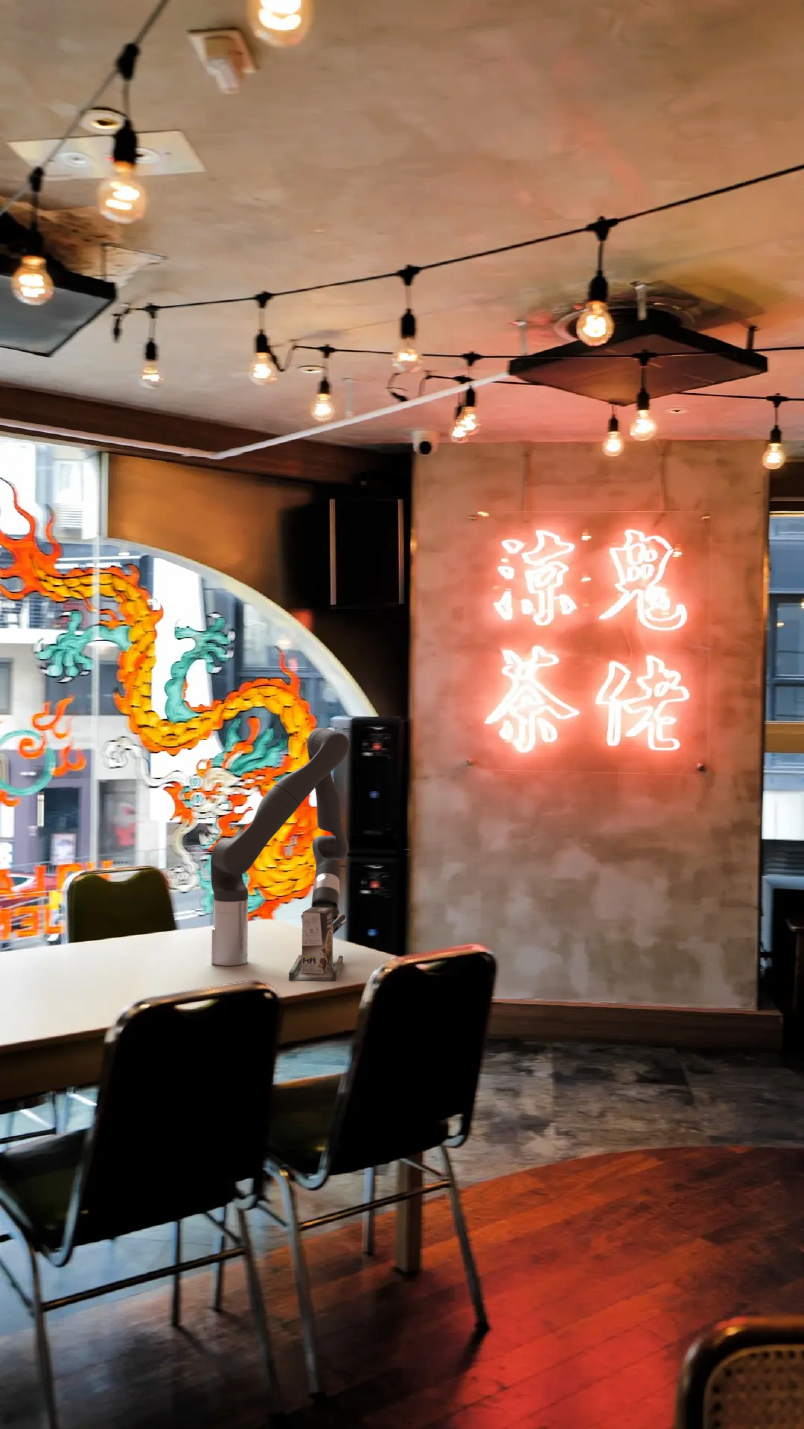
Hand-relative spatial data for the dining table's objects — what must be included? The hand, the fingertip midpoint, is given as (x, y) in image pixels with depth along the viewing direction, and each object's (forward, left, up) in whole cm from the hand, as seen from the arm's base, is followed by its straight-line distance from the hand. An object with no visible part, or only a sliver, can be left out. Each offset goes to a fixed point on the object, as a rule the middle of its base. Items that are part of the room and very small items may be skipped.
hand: (321, 945), depth 308 cm
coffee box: (0, -8, -5) cm, 10 cm away
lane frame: (0, -10, -5) cm, 11 cm away
